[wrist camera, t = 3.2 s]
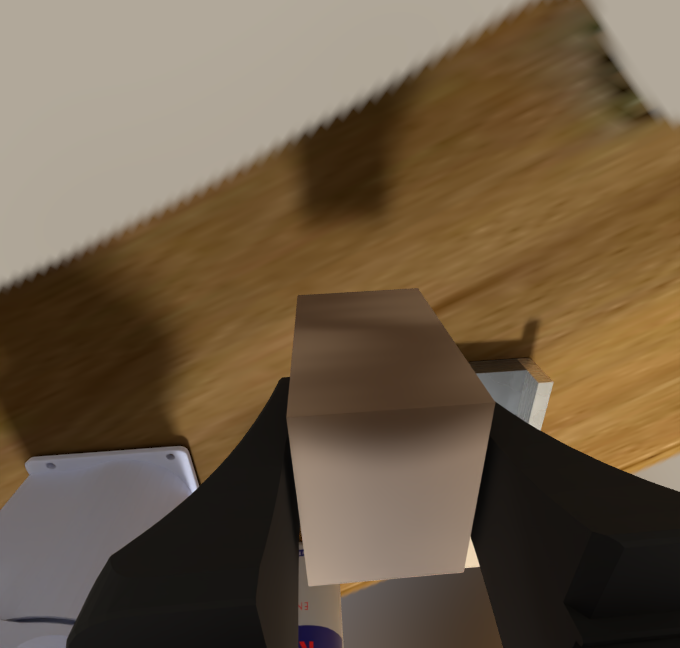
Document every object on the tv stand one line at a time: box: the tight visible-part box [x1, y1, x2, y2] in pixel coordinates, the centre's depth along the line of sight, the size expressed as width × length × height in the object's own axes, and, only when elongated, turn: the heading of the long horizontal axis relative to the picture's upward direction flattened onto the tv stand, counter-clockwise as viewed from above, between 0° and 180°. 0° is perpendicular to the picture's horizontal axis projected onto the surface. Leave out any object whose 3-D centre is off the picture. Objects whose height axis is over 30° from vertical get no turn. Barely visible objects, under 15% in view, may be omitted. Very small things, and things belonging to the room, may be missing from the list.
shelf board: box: [468, 358, 553, 431], centre depth 23 cm, size 11×11×2 cm
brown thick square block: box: [286, 288, 495, 586], centre depth 11 cm, size 4×6×6 cm
